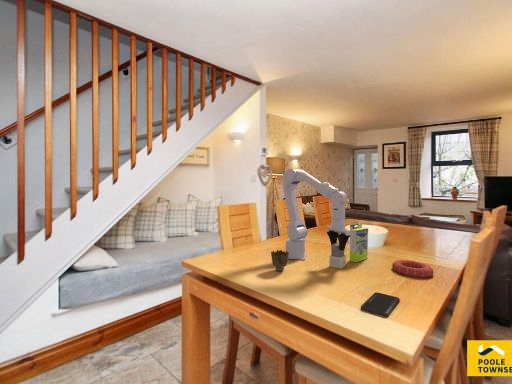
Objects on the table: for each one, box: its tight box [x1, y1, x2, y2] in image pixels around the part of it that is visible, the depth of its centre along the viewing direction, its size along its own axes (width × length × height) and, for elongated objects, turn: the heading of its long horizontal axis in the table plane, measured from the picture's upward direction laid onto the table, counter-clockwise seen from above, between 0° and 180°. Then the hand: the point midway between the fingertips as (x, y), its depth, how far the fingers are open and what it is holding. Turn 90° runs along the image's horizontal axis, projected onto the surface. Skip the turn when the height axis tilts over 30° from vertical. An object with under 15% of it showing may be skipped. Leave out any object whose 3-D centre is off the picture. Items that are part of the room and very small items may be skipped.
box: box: [349, 222, 369, 263], centre depth 135 cm, size 10×4×17 cm, turn 128°
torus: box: [391, 259, 434, 279], centre depth 117 cm, size 16×14×4 cm
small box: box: [329, 254, 347, 269], centre depth 125 cm, size 6×6×5 cm
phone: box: [360, 291, 401, 318], centre depth 86 cm, size 8×1×15 cm
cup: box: [270, 249, 289, 272], centre depth 119 cm, size 8×7×8 cm
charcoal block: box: [330, 242, 345, 257], centre depth 125 cm, size 4×4×5 cm
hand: (337, 248), depth 125 cm, fingers open, 5 cm apart
